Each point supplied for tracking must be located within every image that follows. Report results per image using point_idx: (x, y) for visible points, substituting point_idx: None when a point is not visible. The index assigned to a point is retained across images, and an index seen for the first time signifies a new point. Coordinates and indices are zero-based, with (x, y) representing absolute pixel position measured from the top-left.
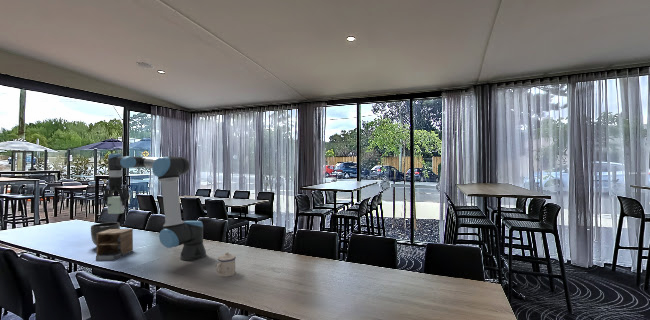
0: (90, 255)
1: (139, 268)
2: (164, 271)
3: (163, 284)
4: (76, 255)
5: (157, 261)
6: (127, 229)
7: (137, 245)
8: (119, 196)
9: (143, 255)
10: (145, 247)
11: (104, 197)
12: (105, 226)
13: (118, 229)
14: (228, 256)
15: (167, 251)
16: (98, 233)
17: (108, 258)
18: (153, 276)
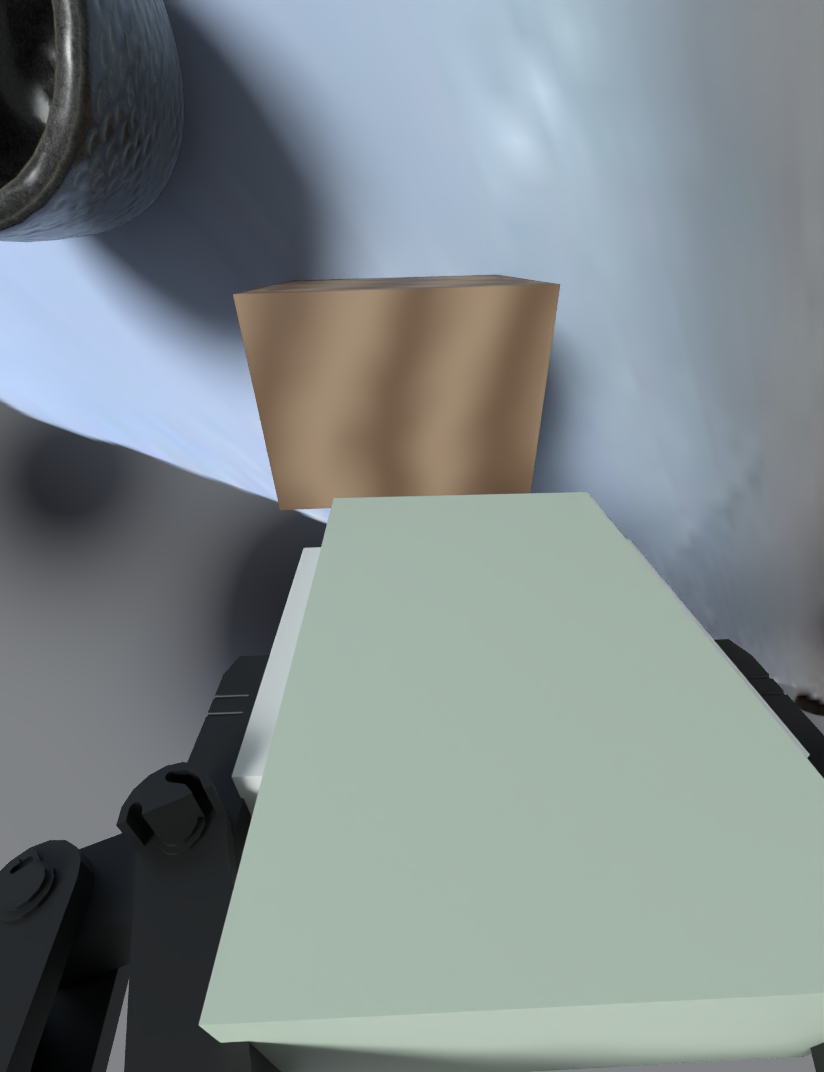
0: (251, 413)
1: (687, 598)
2: (804, 621)
3: (808, 702)
4: (143, 413)
5: (756, 515)
6: (507, 324)
7: (440, 46)
8: (708, 1002)
9: (639, 410)
10: (570, 155)
11: (67, 1069)
12: (49, 181)
13: (382, 322)
14: None
15: (800, 307)
16: (302, 508)
17: None
18: (766, 659)
